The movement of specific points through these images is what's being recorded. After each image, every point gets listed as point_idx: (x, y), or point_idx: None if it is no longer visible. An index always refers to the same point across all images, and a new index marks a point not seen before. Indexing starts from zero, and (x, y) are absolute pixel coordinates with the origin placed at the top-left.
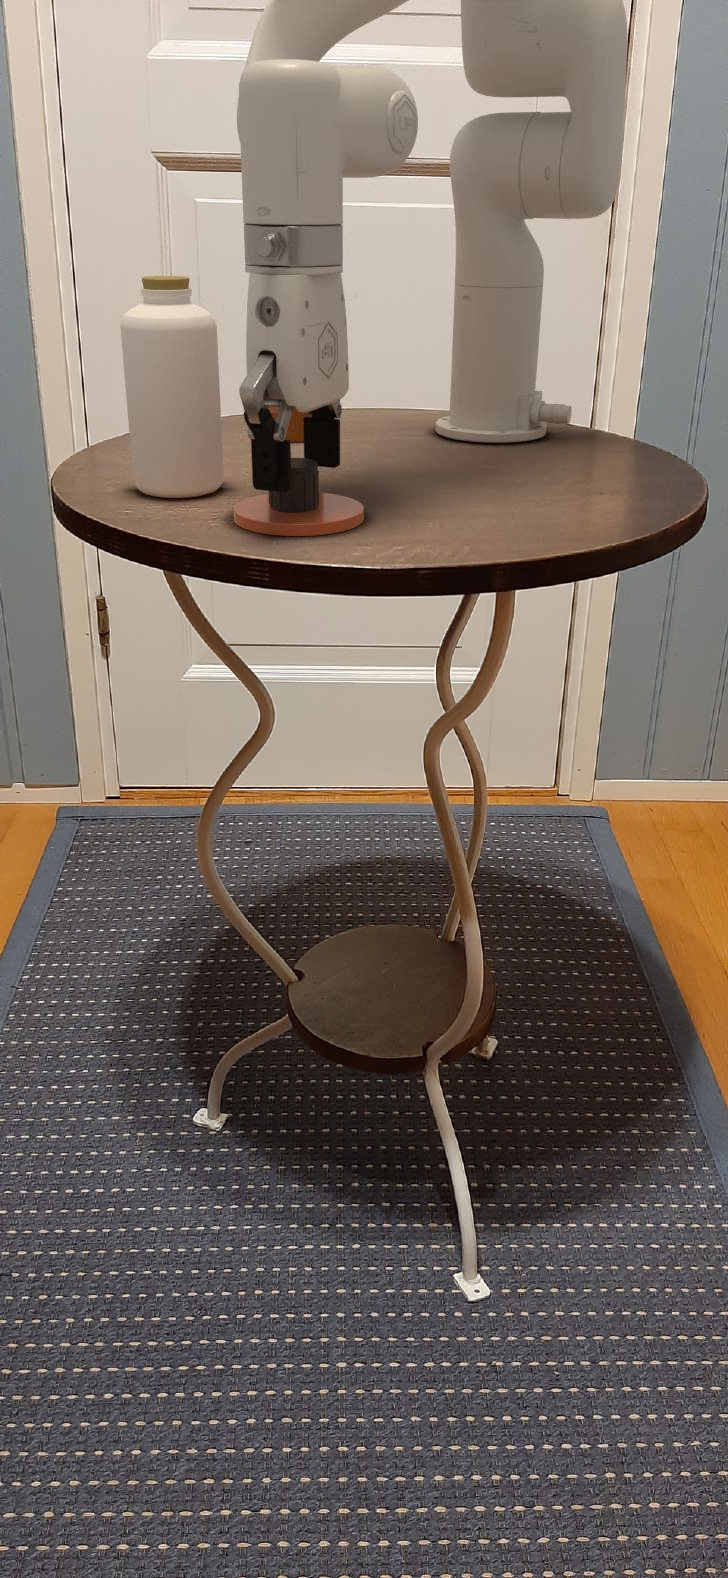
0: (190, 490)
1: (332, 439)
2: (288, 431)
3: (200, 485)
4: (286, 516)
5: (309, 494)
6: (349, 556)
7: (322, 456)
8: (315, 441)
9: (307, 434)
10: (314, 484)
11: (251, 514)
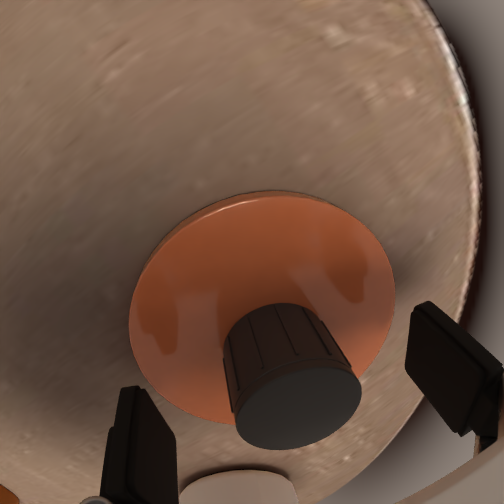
0: (270, 474)
1: (139, 449)
2: (3, 496)
3: (258, 478)
4: (349, 307)
5: (302, 322)
6: (423, 95)
7: (156, 427)
8: (164, 467)
9: (174, 490)
10: (289, 336)
11: (361, 355)
